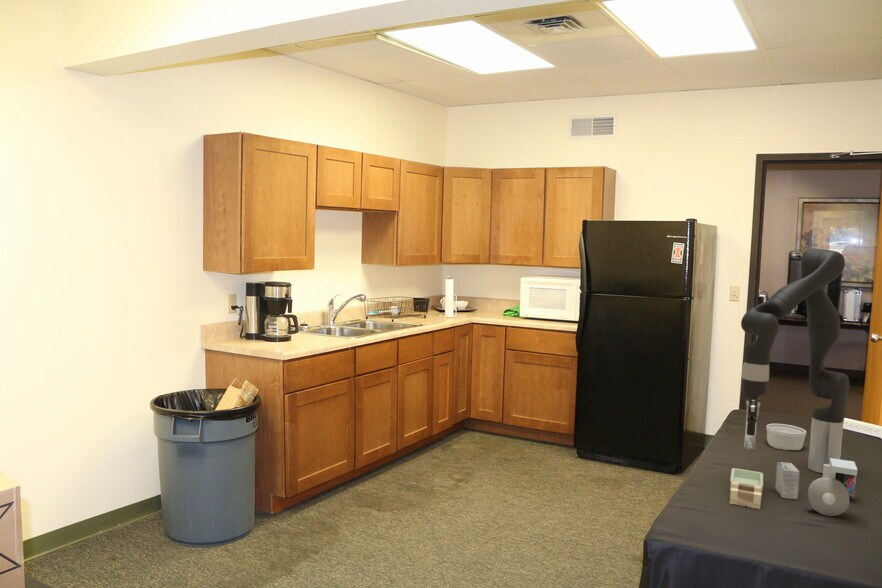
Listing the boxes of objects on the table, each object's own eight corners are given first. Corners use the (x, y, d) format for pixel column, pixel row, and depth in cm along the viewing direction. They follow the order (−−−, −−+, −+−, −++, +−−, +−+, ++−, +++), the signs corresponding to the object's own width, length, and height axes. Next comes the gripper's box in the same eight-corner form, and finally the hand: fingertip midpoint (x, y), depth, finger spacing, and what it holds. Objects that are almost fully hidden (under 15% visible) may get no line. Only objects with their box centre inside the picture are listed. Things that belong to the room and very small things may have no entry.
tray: (731, 477, 226) (732, 467, 226) (762, 482, 222) (763, 472, 222) (729, 491, 213) (730, 481, 213) (762, 496, 210) (763, 486, 209)
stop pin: (744, 445, 219) (746, 414, 218) (754, 447, 217) (757, 415, 217) (743, 448, 216) (746, 416, 215) (754, 450, 215) (757, 417, 214)
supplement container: (831, 499, 210) (834, 465, 209) (825, 491, 216) (828, 458, 215) (856, 503, 208) (860, 468, 207) (850, 495, 214) (853, 461, 213)
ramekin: (806, 446, 264) (808, 427, 263) (802, 454, 253) (804, 435, 252) (767, 439, 271) (769, 421, 270) (762, 447, 260) (764, 429, 259)
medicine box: (797, 500, 208) (800, 471, 207) (781, 498, 209) (783, 469, 208) (790, 490, 216) (792, 462, 215) (774, 489, 217) (776, 461, 216)
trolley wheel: (805, 504, 205) (810, 455, 204) (849, 511, 201) (854, 461, 199) (807, 513, 198) (811, 462, 196) (852, 522, 193) (857, 469, 192)
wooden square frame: (730, 494, 210) (731, 481, 210) (760, 499, 207) (761, 486, 207) (729, 503, 203) (730, 490, 203) (760, 509, 200) (761, 495, 200)
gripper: (769, 383, 207) (764, 441, 208) (768, 375, 220) (764, 429, 221) (741, 380, 210) (736, 437, 211) (742, 372, 223) (738, 426, 224)
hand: (750, 433), depth 216 cm, fingers closed on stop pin, 3 cm apart
